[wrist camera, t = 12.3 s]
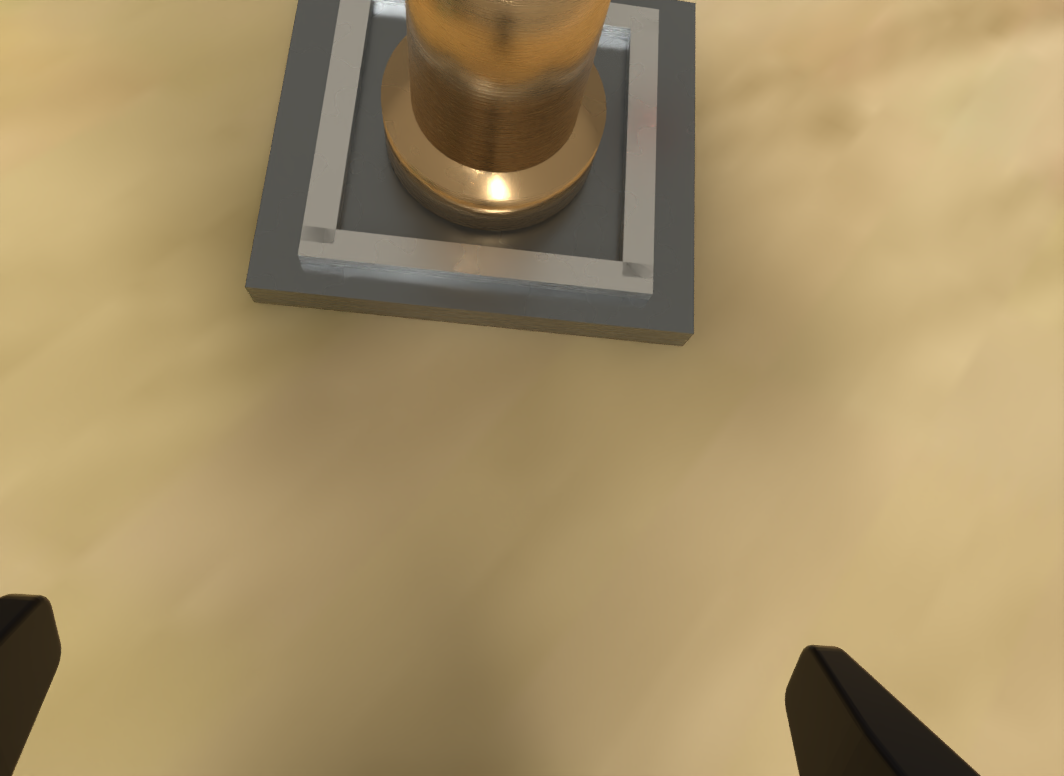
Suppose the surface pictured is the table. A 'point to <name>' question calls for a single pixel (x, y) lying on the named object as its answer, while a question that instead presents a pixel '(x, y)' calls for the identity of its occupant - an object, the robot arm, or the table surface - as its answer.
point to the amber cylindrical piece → (495, 107)
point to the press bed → (470, 254)
